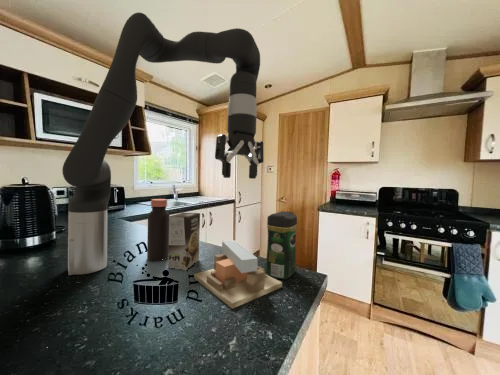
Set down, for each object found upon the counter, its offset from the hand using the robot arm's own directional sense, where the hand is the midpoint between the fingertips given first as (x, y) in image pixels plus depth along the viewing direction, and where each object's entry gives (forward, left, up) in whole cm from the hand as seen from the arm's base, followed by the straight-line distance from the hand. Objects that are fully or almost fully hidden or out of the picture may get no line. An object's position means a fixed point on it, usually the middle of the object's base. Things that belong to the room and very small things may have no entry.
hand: (240, 178), depth 58 cm
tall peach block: (0, 0, -27) cm, 27 cm away
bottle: (-11, +30, -28) cm, 43 cm away
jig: (0, 0, -28) cm, 28 cm away
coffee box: (-6, +20, -28) cm, 35 cm away
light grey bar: (0, 0, -22) cm, 22 cm away
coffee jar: (+14, -3, -28) cm, 32 cm away
